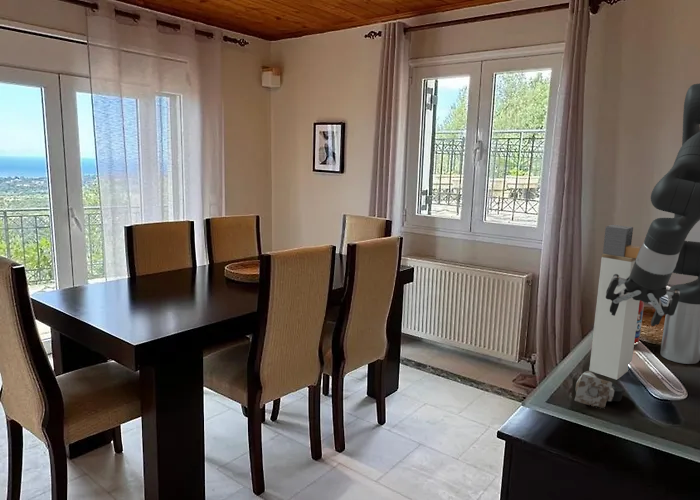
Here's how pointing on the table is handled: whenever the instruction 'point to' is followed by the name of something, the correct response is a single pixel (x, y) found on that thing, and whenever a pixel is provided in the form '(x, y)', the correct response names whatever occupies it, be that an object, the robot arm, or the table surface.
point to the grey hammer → (619, 241)
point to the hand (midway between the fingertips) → (632, 318)
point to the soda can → (639, 321)
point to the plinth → (613, 322)
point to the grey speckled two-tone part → (596, 390)
